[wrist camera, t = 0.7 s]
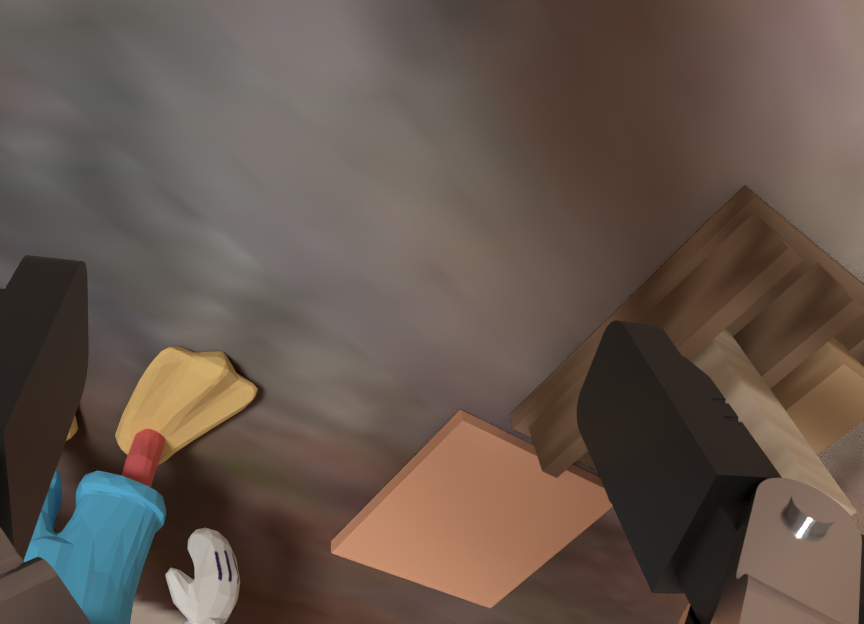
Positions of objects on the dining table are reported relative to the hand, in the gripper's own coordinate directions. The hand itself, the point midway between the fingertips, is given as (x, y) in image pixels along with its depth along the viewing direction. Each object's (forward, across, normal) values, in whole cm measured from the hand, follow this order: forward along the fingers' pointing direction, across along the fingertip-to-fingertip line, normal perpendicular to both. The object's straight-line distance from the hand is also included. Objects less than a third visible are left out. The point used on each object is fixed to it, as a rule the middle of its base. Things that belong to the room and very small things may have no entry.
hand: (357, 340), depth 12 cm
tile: (+21, -13, +26) cm, 35 cm away
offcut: (+19, -25, +12) cm, 33 cm away
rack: (+20, -22, +13) cm, 32 cm away
